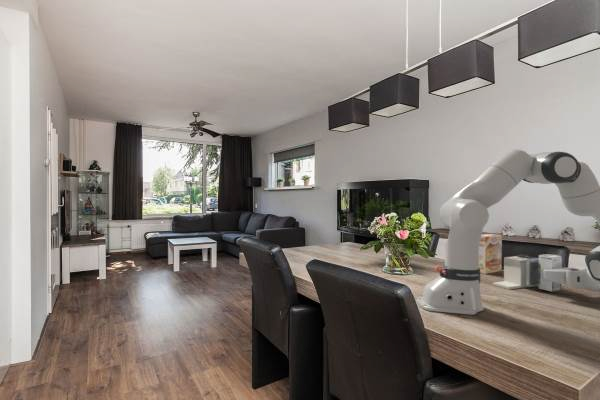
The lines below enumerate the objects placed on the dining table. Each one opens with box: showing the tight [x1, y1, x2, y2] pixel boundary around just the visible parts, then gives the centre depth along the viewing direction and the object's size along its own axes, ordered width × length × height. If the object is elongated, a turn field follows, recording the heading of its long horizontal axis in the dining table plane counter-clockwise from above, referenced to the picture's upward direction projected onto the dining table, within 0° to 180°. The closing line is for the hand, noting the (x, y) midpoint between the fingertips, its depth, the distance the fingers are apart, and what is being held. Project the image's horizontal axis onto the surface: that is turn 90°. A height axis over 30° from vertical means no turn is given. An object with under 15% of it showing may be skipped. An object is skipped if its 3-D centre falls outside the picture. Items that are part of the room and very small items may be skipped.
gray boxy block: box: [517, 253, 539, 285], centre depth 147 cm, size 10×12×11 cm
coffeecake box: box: [479, 233, 503, 275], centre depth 176 cm, size 15×7×20 cm, turn 119°
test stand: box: [492, 255, 538, 290], centre depth 149 cm, size 8×26×12 cm, turn 109°
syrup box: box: [537, 253, 563, 292], centre depth 138 cm, size 6×6×14 cm
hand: (547, 269), depth 139 cm, fingers closed on syrup box, 6 cm apart
